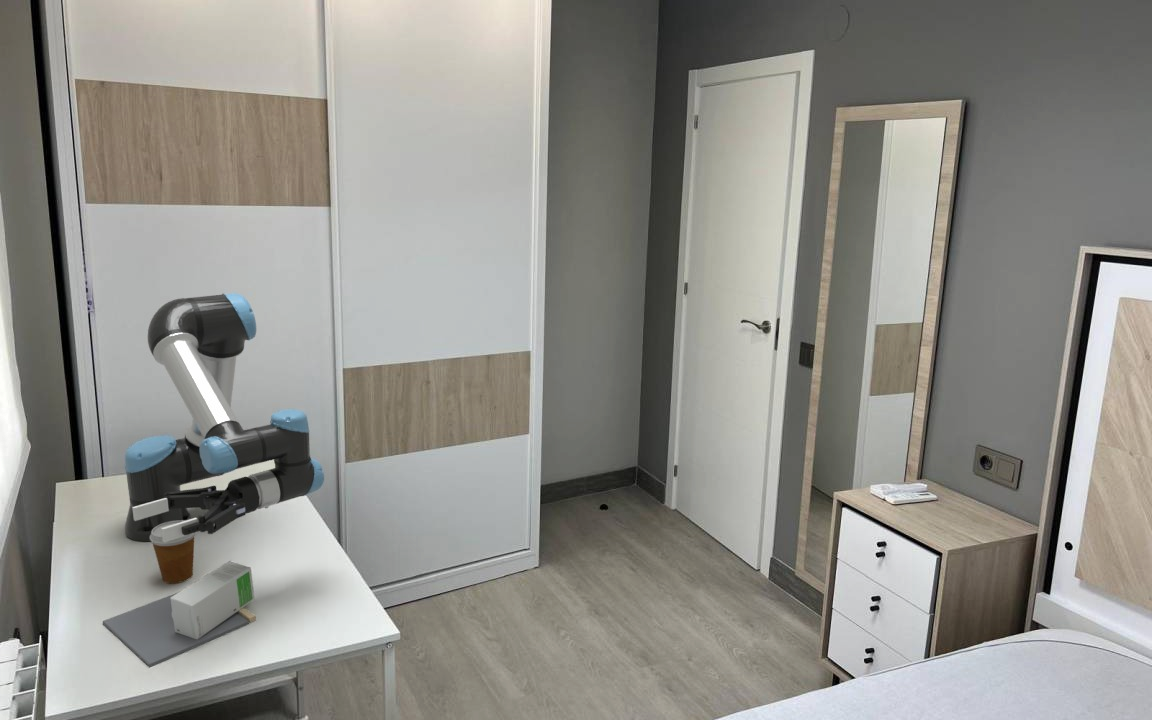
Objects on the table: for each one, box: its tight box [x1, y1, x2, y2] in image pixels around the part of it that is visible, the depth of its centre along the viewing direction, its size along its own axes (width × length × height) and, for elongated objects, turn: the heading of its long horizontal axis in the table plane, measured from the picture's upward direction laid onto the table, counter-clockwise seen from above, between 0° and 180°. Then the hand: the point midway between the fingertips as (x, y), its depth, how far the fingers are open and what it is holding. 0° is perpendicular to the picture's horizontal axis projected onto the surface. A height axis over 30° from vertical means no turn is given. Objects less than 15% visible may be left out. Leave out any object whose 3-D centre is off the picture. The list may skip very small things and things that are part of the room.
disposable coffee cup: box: [150, 520, 196, 584], centre depth 189 cm, size 10×10×12 cm
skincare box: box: [170, 560, 255, 640], centre depth 172 cm, size 8×7×16 cm
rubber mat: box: [102, 591, 257, 668], centre depth 172 cm, size 22×22×1 cm
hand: (147, 524), depth 161 cm, fingers open, 13 cm apart
